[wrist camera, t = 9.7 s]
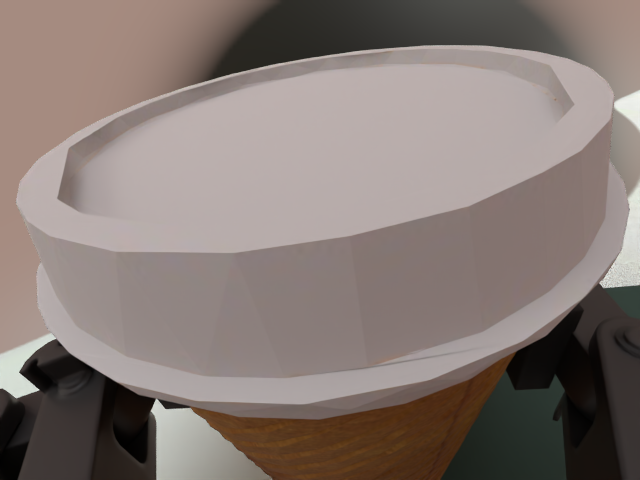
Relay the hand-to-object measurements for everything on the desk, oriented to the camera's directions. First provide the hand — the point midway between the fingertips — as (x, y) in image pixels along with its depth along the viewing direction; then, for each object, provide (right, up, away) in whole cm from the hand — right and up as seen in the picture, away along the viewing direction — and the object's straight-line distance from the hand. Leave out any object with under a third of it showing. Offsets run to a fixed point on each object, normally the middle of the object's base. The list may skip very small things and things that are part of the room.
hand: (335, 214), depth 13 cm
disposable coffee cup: (+1, -8, 0) cm, 8 cm away
